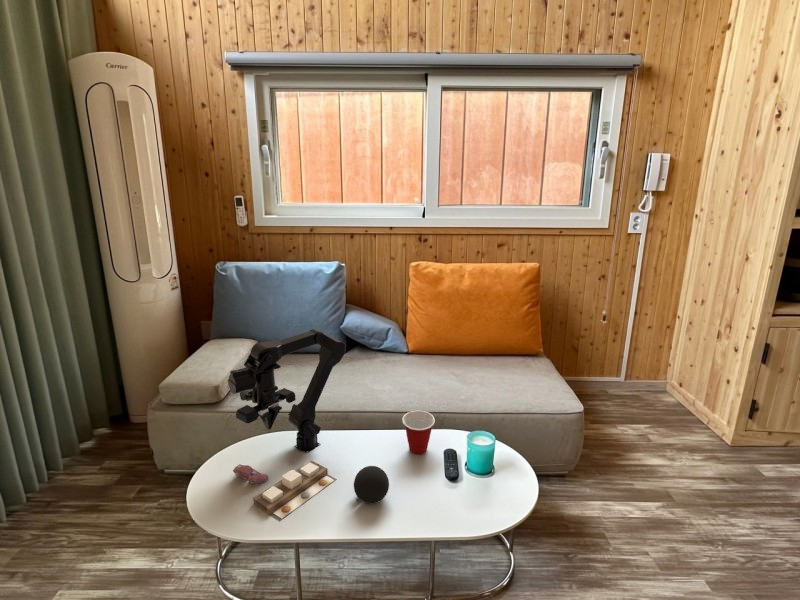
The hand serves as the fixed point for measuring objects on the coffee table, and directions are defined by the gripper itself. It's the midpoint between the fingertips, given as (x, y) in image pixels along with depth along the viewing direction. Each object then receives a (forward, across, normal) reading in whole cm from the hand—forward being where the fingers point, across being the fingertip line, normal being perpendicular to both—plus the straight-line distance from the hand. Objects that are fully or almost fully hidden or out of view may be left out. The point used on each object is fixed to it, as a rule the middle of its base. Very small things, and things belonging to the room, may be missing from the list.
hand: (268, 429), depth 146 cm
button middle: (+10, +5, +16) cm, 19 cm away
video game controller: (+12, +10, +2) cm, 16 cm away
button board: (+12, +5, +18) cm, 22 cm away
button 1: (+11, +12, +16) cm, 23 cm away
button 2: (+11, -2, +16) cm, 20 cm away
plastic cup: (+12, -34, +34) cm, 50 cm away
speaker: (+12, -6, +37) cm, 39 cm away
